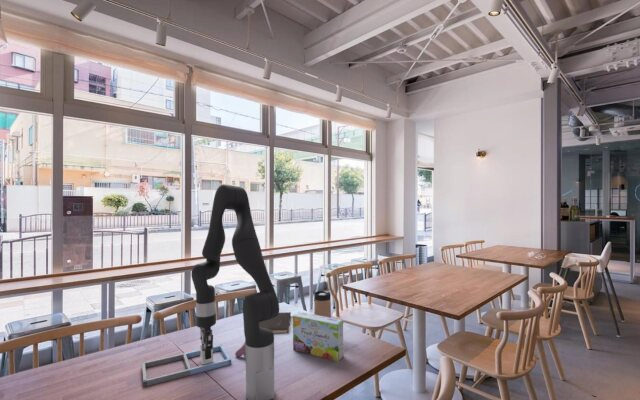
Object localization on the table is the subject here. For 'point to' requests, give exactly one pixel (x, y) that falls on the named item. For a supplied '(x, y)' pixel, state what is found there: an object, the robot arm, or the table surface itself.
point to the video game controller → (241, 351)
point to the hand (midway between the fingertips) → (206, 355)
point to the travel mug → (322, 304)
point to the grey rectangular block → (202, 355)
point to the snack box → (318, 335)
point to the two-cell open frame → (188, 369)
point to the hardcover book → (277, 323)
